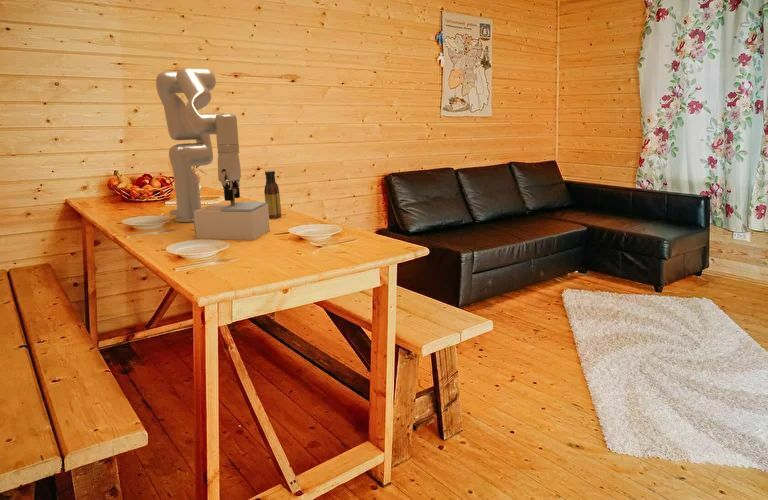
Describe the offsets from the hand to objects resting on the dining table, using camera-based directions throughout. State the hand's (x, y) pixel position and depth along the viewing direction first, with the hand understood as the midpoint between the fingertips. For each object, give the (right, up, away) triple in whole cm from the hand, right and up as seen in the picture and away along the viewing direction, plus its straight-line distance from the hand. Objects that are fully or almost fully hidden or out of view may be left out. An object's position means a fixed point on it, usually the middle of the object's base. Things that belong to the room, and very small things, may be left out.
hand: (232, 198), depth 210 cm
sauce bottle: (+9, -5, +33) cm, 35 cm away
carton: (0, -13, +4) cm, 13 cm away
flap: (+4, -3, 0) cm, 6 cm away
